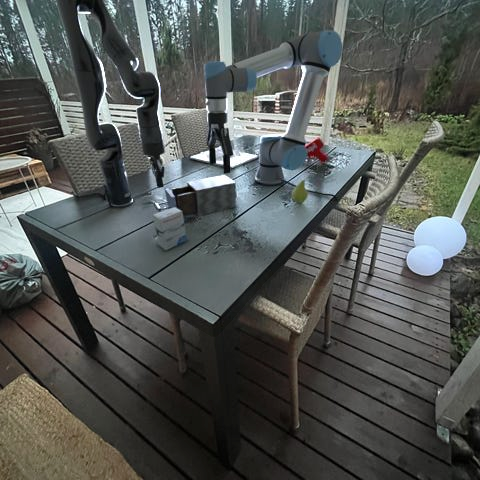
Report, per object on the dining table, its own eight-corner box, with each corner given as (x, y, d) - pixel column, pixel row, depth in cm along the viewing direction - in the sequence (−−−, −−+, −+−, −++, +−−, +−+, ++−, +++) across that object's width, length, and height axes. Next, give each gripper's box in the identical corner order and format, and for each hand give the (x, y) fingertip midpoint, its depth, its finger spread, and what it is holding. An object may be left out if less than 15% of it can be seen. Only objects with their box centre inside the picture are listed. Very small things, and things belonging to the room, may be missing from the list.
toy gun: (331, 157, 168) (319, 136, 164) (331, 159, 164) (318, 137, 160) (306, 172, 178) (294, 153, 174) (305, 174, 174) (292, 154, 170)
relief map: (232, 168, 162) (231, 159, 159) (190, 158, 179) (189, 150, 177) (257, 157, 180) (257, 149, 177) (217, 149, 198) (217, 142, 195)
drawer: (160, 222, 105) (156, 200, 100) (154, 212, 112) (150, 191, 107) (212, 209, 113) (211, 189, 108) (203, 201, 121) (202, 181, 116)
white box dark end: (198, 216, 111) (196, 190, 105) (189, 206, 119) (186, 181, 113) (235, 206, 118) (235, 182, 112) (225, 198, 126) (224, 174, 120)
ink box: (179, 235, 98) (174, 206, 91) (187, 241, 95) (183, 210, 88) (158, 245, 93) (151, 214, 86) (165, 250, 90) (159, 219, 83)
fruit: (288, 200, 123) (290, 174, 116) (302, 197, 125) (305, 172, 119) (296, 206, 118) (299, 179, 111) (310, 203, 120) (314, 177, 114)
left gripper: (137, 137, 97) (146, 183, 106) (145, 144, 87) (154, 195, 97) (158, 134, 100) (165, 179, 109) (168, 142, 90) (175, 190, 100)
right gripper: (195, 108, 107) (199, 161, 119) (222, 116, 89) (224, 179, 101) (212, 107, 110) (215, 159, 122) (242, 115, 92) (242, 175, 104)
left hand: (160, 186), depth 103 cm, fingers closed
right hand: (219, 168), depth 111 cm, fingers open, 13 cm apart
